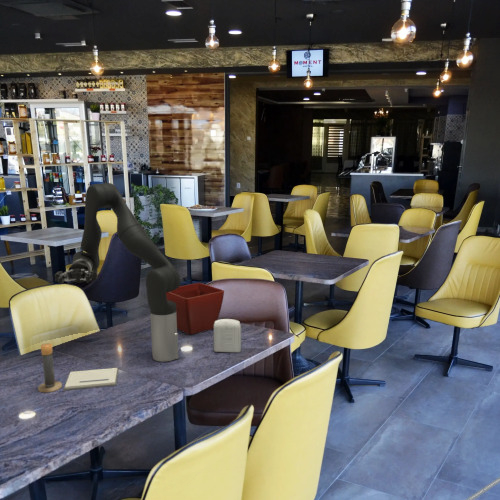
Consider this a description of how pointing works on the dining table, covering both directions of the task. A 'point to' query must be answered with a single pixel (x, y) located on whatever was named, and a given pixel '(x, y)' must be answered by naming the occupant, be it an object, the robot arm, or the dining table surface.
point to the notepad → (91, 379)
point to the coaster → (52, 389)
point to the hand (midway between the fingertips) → (73, 280)
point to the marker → (48, 365)
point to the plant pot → (196, 307)
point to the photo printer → (227, 335)
